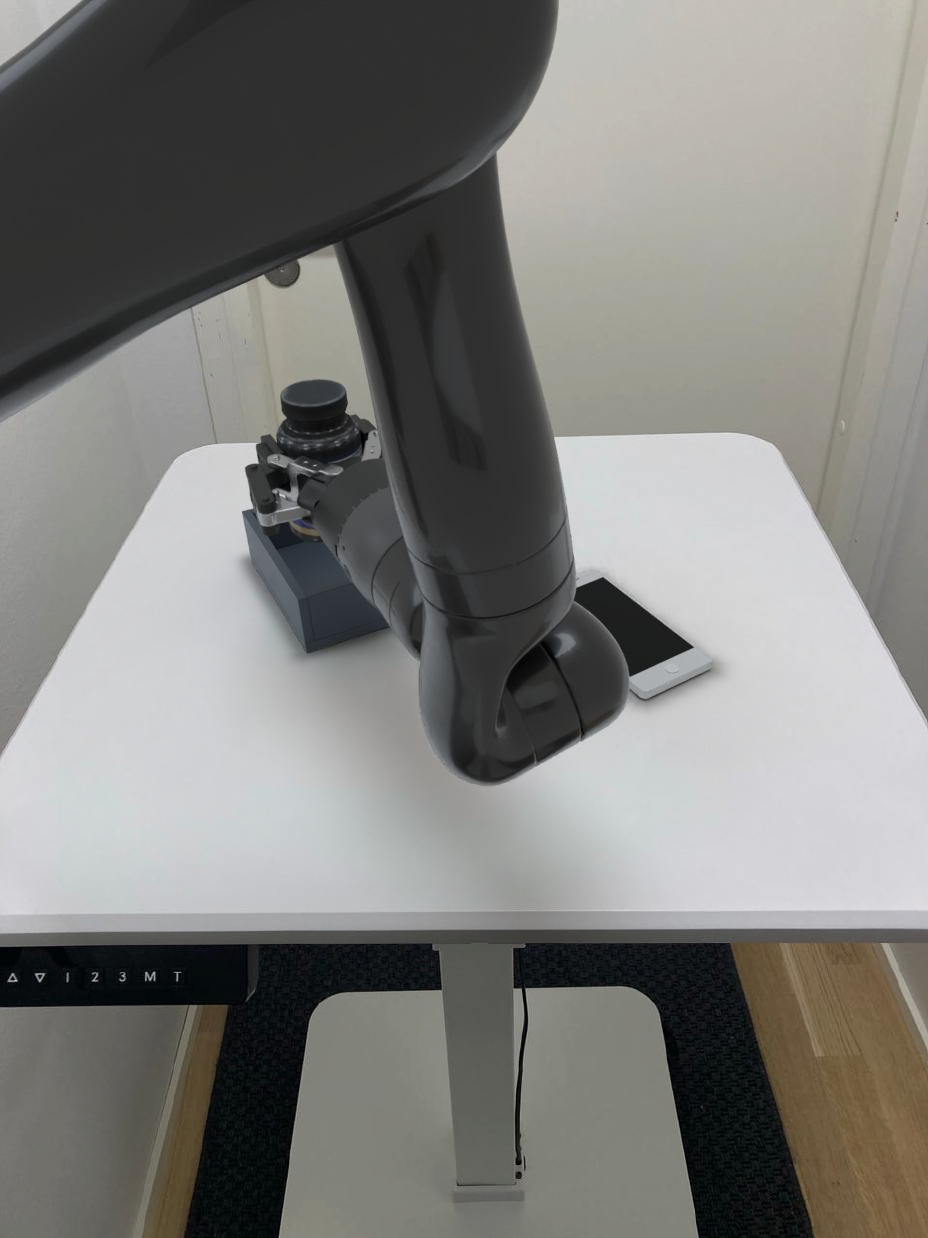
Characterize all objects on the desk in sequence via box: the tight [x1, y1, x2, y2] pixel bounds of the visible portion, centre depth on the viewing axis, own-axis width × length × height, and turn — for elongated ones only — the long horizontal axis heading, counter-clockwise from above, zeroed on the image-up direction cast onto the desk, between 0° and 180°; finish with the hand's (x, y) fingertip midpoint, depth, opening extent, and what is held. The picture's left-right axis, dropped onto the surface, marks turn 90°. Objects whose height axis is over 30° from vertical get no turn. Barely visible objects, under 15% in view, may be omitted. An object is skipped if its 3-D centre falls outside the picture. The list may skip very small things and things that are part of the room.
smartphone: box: [574, 568, 713, 700], centre depth 81 cm, size 7×16×1 cm, turn 31°
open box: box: [241, 507, 390, 654], centre depth 88 cm, size 16×16×6 cm
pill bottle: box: [275, 378, 363, 543], centre depth 72 cm, size 6×6×11 cm
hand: (309, 436), depth 74 cm, fingers closed on pill bottle, 6 cm apart
